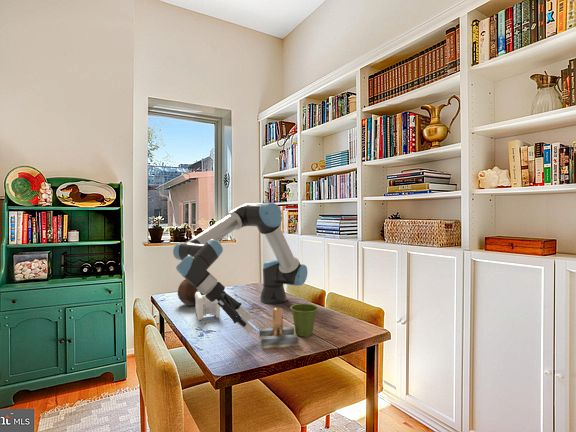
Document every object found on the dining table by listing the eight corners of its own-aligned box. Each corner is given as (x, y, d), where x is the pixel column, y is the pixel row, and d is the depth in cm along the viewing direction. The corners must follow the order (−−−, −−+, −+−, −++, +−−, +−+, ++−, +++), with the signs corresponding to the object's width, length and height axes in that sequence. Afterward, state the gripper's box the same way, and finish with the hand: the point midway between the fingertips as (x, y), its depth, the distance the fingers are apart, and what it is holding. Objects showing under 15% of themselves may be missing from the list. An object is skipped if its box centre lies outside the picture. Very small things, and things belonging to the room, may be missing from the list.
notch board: (261, 348, 131) (261, 339, 131) (259, 336, 143) (259, 328, 143) (297, 346, 133) (297, 337, 133) (292, 334, 145) (292, 326, 145)
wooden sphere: (210, 301, 198) (210, 275, 197) (199, 309, 183) (198, 281, 182) (185, 300, 200) (185, 274, 200) (172, 308, 185) (172, 280, 185)
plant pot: (297, 341, 138) (297, 313, 138) (285, 331, 149) (285, 305, 149) (323, 336, 143) (323, 309, 143) (310, 327, 154) (310, 302, 154)
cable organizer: (220, 319, 165) (220, 295, 165) (197, 322, 162) (197, 297, 162) (215, 311, 180) (215, 288, 179) (194, 313, 176) (194, 290, 176)
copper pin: (276, 336, 141) (276, 306, 141) (284, 338, 139) (284, 308, 139) (270, 339, 138) (270, 308, 138) (278, 341, 135) (278, 310, 135)
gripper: (206, 287, 146) (243, 321, 149) (201, 304, 121) (244, 343, 124) (219, 274, 147) (255, 308, 149) (216, 288, 122) (259, 328, 125)
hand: (250, 324), depth 137 cm, fingers open, 13 cm apart
